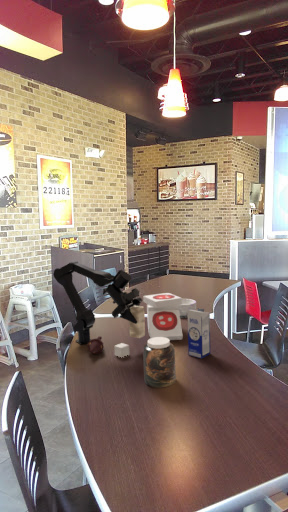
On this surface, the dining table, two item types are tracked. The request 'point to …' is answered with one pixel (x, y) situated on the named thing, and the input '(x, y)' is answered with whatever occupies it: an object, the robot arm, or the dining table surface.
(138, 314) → the birch block
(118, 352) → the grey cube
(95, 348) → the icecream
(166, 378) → the jar
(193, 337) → the milk carton
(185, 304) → the paper bowls
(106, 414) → the dining table surface
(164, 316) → the pizza boxes
